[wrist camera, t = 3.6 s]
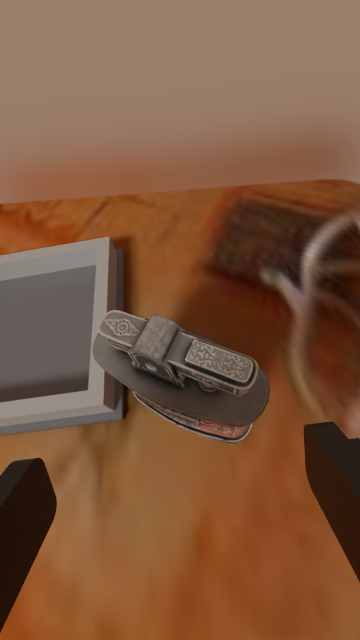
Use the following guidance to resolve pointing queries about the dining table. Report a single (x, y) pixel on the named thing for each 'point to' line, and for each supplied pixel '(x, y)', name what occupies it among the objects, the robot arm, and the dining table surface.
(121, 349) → the lighter
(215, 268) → the dining table surface
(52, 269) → the tray
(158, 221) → the dining table surface
